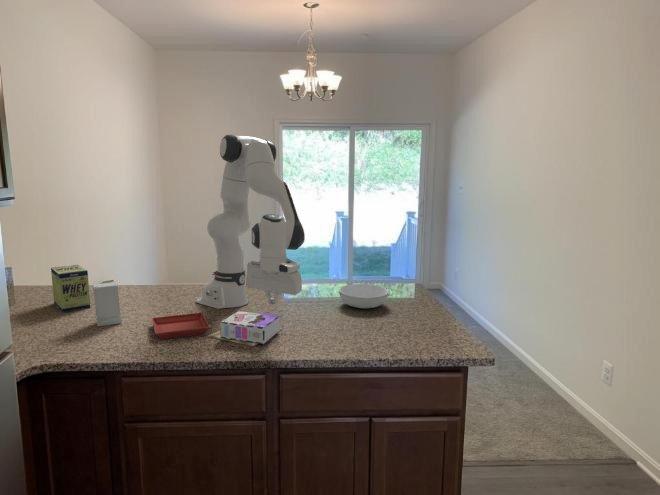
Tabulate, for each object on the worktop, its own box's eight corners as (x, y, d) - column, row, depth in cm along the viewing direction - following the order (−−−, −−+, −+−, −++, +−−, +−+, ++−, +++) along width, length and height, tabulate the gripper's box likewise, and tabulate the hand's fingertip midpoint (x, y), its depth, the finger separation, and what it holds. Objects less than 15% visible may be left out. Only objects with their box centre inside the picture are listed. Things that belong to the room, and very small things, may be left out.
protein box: (62, 312, 184) (59, 274, 182) (53, 303, 196) (50, 267, 193) (91, 307, 191) (88, 270, 188) (80, 299, 203) (78, 264, 200)
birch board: (209, 337, 161) (209, 335, 161) (241, 321, 177) (241, 320, 177) (253, 346, 154) (253, 344, 154) (282, 329, 170) (282, 327, 170)
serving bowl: (331, 309, 195) (331, 293, 194) (348, 296, 214) (348, 281, 213) (379, 315, 188) (380, 299, 186) (392, 302, 207) (393, 287, 205)
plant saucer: (152, 325, 172) (151, 317, 172) (202, 320, 180) (201, 311, 179) (155, 342, 156) (155, 333, 156) (210, 335, 164) (210, 326, 163)
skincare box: (120, 319, 178) (118, 281, 175) (121, 324, 172) (119, 284, 170) (96, 322, 174) (93, 283, 172) (96, 327, 169) (93, 287, 166)
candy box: (264, 327, 153) (219, 321, 157) (264, 344, 154) (219, 338, 158) (280, 315, 166) (238, 310, 170) (280, 330, 167) (238, 325, 171)
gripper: (241, 261, 158) (242, 301, 160) (294, 268, 149) (294, 310, 152) (252, 258, 163) (252, 297, 166) (304, 265, 155) (303, 305, 157)
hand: (273, 303), depth 159 cm, fingers closed
